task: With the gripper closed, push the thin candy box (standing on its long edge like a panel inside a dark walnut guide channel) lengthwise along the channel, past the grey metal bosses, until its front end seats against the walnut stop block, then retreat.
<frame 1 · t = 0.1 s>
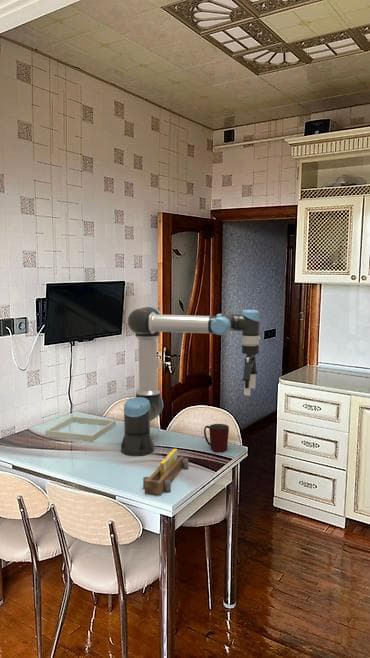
hand: (249, 391, 222), 28 cm above the table, fingers open, 13 cm apart
tray rim: (81, 431, 255), on the table
candy box: (169, 475, 200), resting in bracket
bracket: (161, 484, 191), on the table
mug: (215, 449, 229), on the table
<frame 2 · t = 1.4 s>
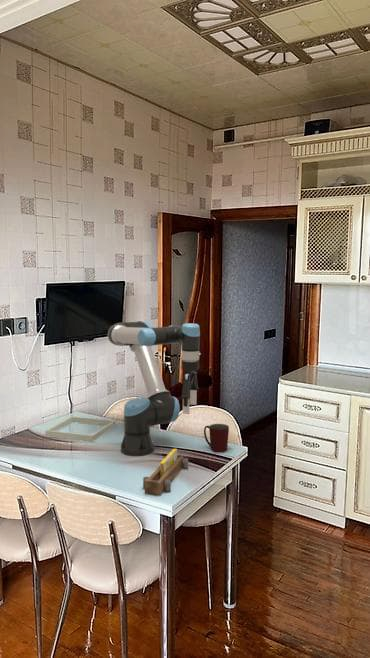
hand: (189, 408, 213), 23 cm above the table, fingers open, 13 cm apart
nothing on the table moved.
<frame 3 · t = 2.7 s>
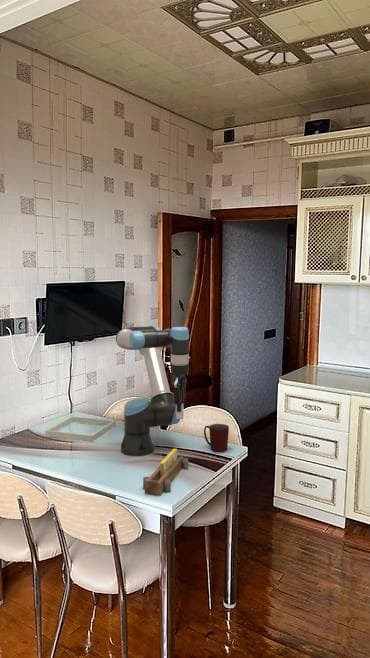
hand: (179, 418, 211), 19 cm above the table, fingers closed
nothing on the table moved.
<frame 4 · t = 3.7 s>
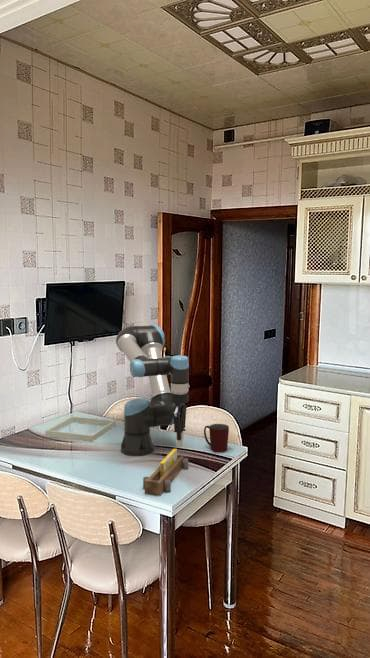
hand: (180, 446, 212), 7 cm above the table, fingers closed
nothing on the table moved.
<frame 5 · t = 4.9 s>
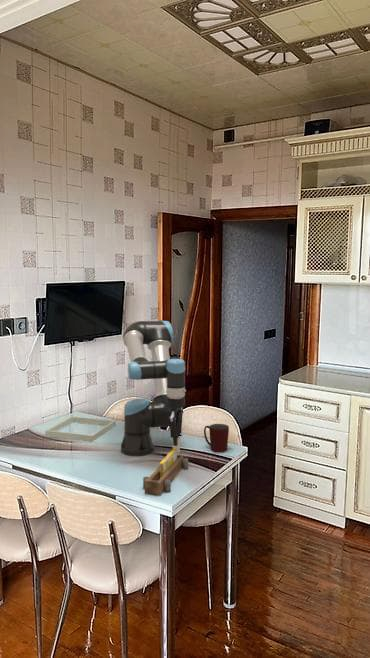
hand: (176, 452, 207), 7 cm above the table, fingers closed
candy box: (168, 475, 199), resting in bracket, touching gripper
everything else where it was.
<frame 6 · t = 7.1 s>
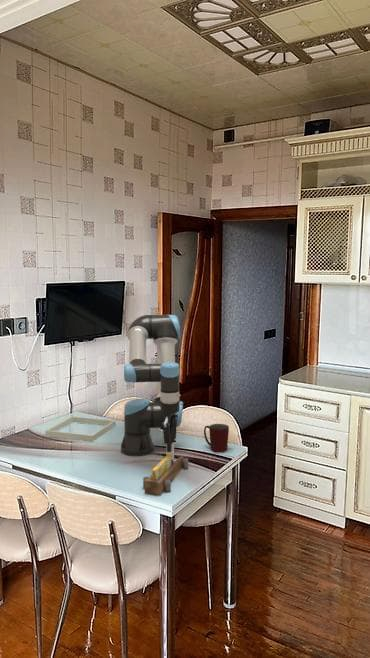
hand: (170, 458, 200), 6 cm above the table, fingers closed
candy box: (162, 482, 193), resting in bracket, touching gripper
everything else where it was.
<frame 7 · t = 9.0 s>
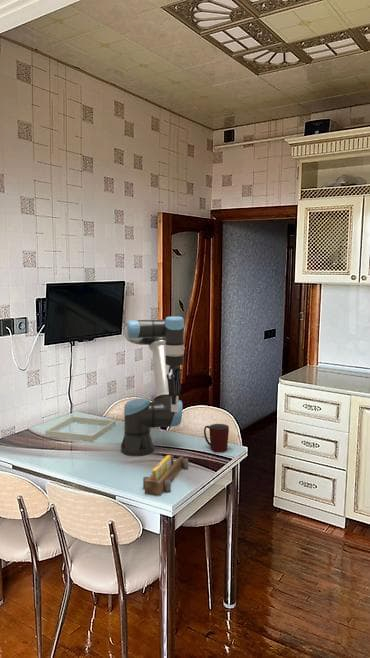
hand: (174, 411, 204), 24 cm above the table, fingers closed
candy box: (162, 483, 193), resting in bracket
everything else where it was.
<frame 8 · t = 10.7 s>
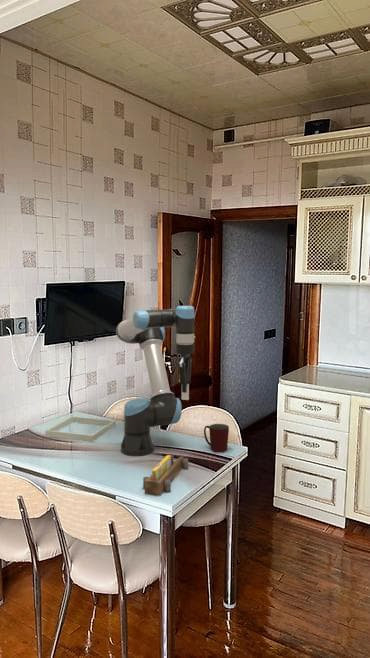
hand: (185, 399, 207), 28 cm above the table, fingers closed
nothing on the table moved.
at the end: candy box 0.7 cm from the target spot on the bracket, point 0.0 cm above the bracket's base; candy box tilted 0°; candy box moved 8.1 cm from its start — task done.
